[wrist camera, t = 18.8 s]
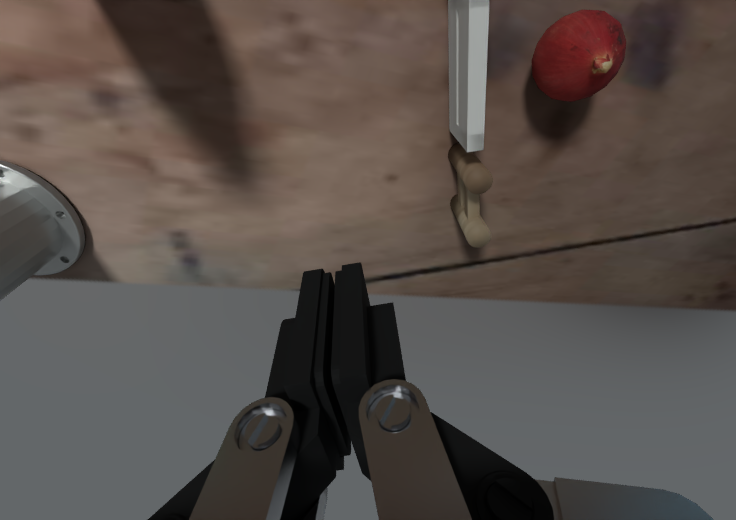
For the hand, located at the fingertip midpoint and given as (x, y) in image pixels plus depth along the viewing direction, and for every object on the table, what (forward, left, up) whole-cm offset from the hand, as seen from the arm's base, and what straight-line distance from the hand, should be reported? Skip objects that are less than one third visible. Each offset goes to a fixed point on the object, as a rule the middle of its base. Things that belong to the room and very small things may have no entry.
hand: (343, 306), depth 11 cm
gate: (+9, +3, -25) cm, 26 cm away
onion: (+17, +2, -26) cm, 31 cm away
